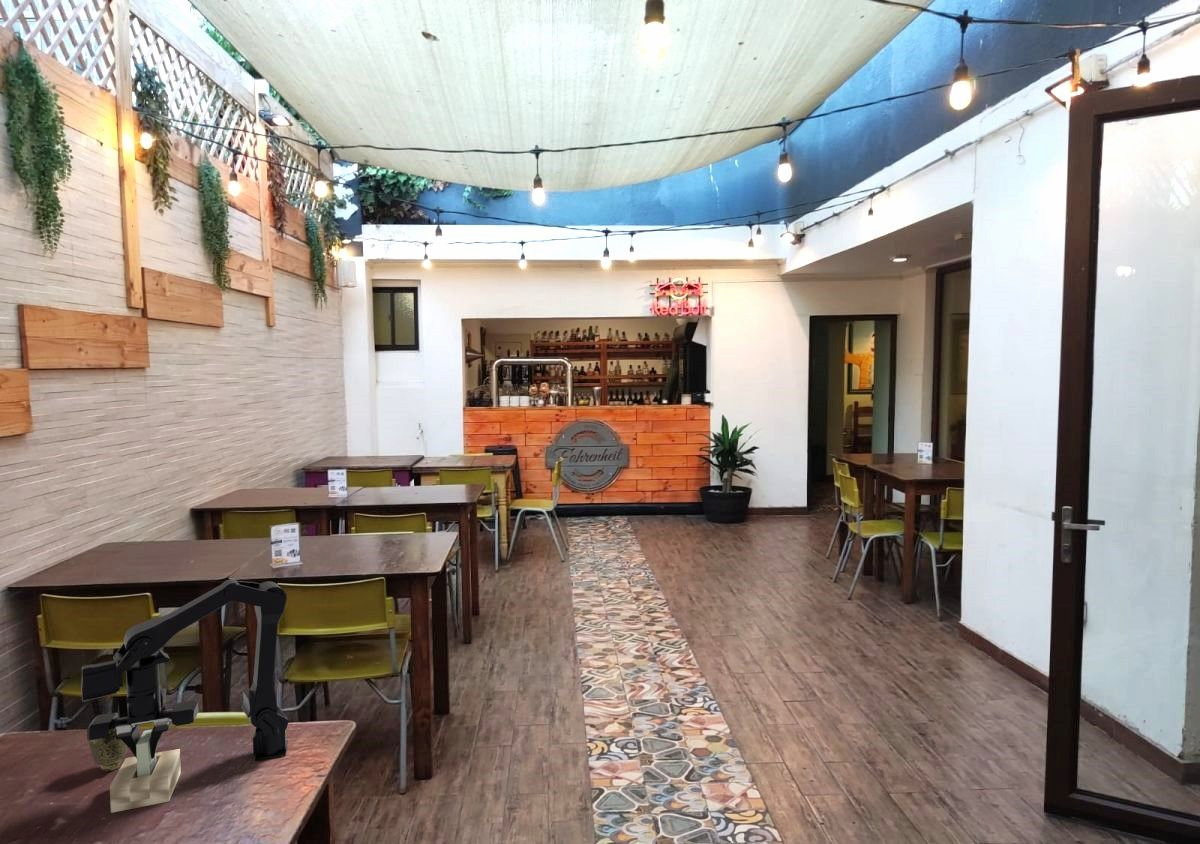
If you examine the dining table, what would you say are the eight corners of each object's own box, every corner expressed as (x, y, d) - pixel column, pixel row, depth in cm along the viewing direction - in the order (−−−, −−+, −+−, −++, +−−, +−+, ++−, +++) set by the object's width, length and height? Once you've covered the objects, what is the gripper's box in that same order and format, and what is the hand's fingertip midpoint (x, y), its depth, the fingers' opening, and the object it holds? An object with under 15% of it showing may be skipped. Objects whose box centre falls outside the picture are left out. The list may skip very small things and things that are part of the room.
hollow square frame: (180, 772, 148) (179, 748, 148) (169, 801, 138) (168, 775, 137) (127, 782, 144) (126, 758, 144) (111, 812, 134) (109, 786, 134)
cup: (109, 779, 145) (107, 743, 145) (81, 775, 147) (79, 740, 147) (139, 760, 153) (138, 726, 152) (112, 757, 154) (111, 723, 154)
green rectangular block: (156, 765, 144) (155, 729, 144) (149, 780, 138) (147, 742, 138) (145, 767, 143) (143, 730, 143) (137, 782, 138) (135, 744, 137)
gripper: (201, 664, 151) (204, 731, 152) (102, 678, 144) (105, 748, 145) (191, 685, 140) (194, 757, 141) (84, 700, 134) (87, 776, 134)
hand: (146, 758), depth 141 cm, fingers closed on green rectangular block, 2 cm apart
